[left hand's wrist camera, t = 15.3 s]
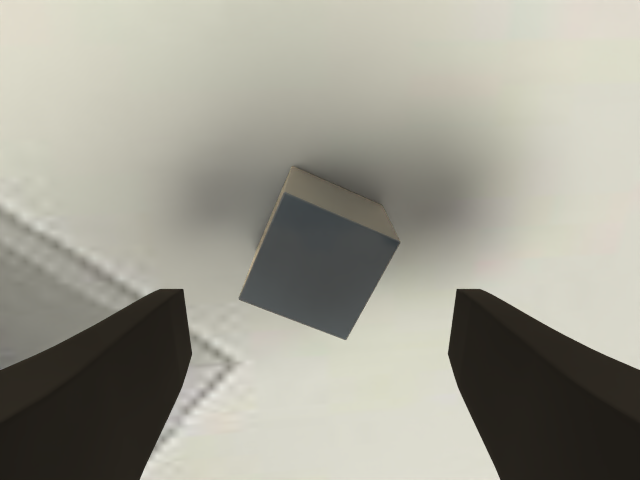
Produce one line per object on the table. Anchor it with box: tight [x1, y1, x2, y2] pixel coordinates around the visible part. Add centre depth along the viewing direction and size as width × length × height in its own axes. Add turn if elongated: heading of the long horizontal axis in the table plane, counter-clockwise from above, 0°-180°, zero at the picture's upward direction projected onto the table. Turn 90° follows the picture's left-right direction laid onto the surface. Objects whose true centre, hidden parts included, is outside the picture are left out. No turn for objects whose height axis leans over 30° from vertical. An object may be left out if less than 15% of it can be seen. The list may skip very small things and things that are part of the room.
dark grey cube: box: [239, 166, 400, 340], centre depth 15 cm, size 4×4×4 cm
